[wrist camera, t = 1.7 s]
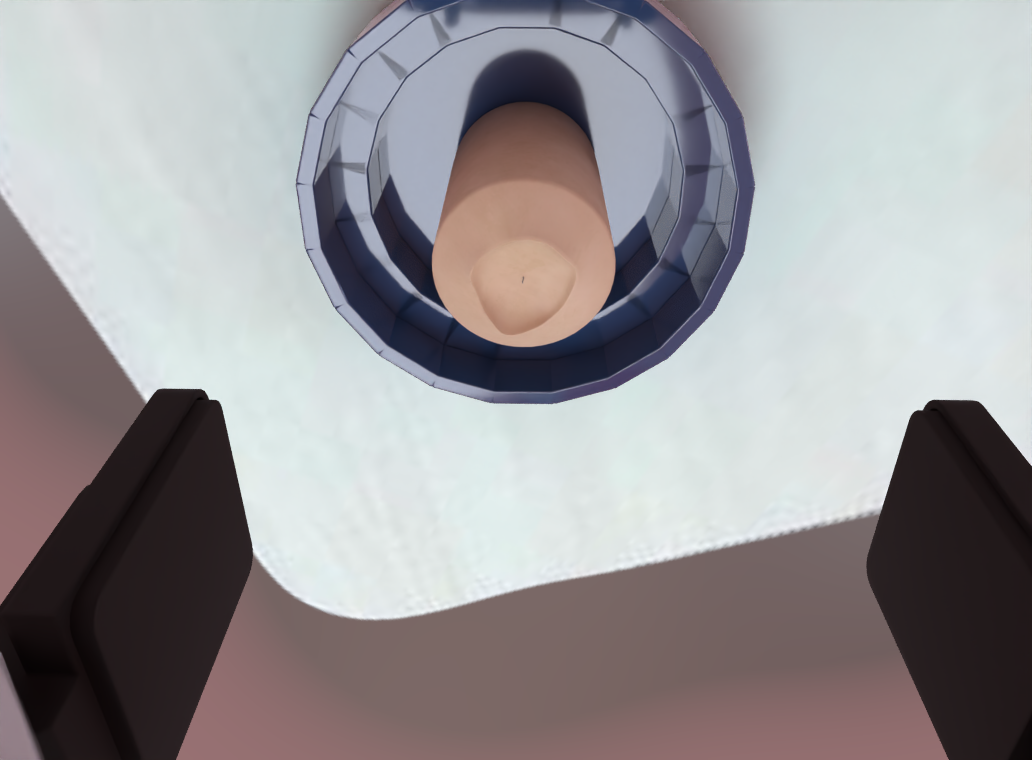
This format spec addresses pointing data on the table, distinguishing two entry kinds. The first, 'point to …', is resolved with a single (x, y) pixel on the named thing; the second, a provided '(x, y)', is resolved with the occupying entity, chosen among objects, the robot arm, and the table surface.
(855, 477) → the table surface
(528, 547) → the table surface
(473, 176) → the candle
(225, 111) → the table surface
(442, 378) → the basin
